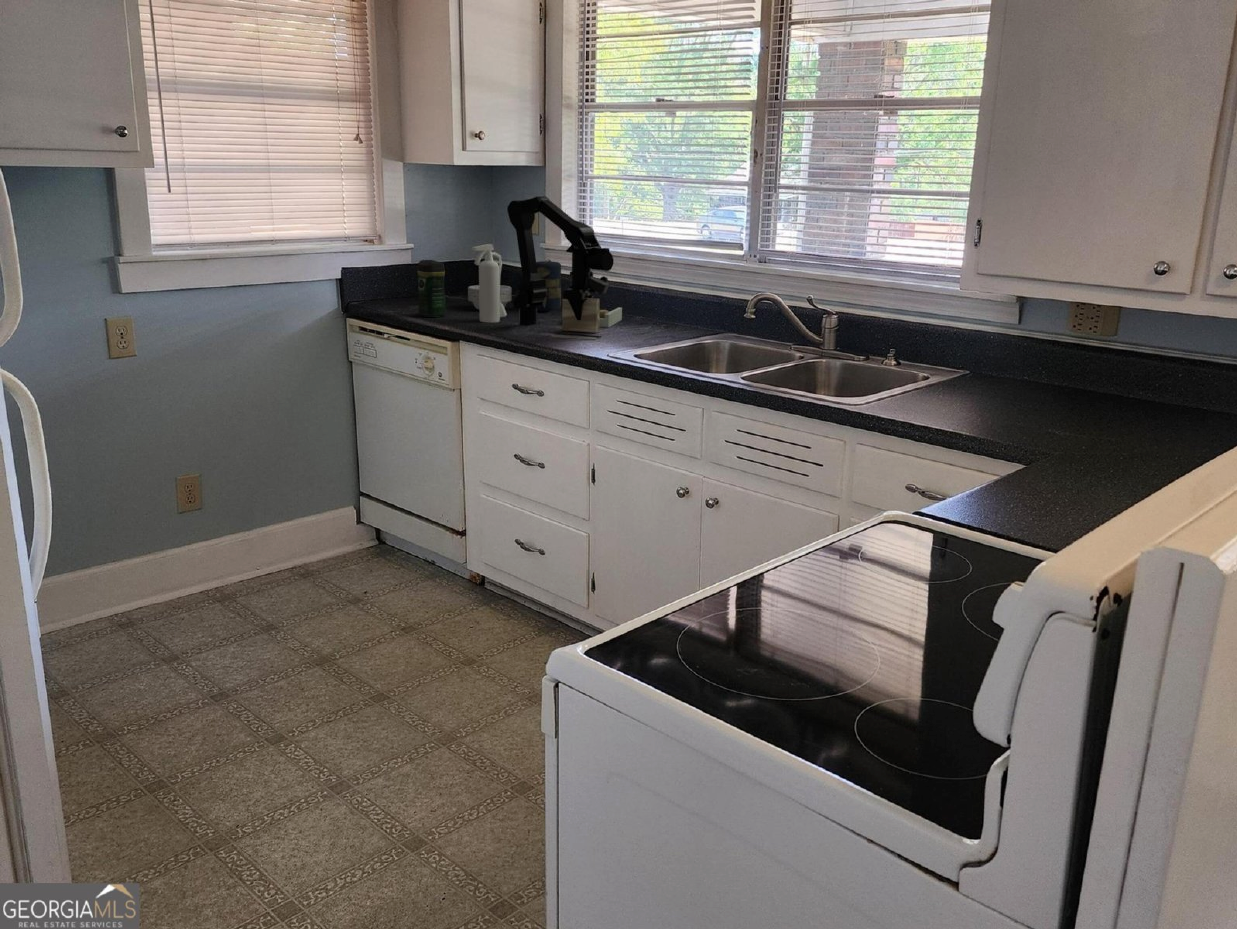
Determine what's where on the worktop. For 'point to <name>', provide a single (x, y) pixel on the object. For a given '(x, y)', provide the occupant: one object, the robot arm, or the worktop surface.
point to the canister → (550, 284)
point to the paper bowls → (504, 297)
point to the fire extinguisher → (489, 285)
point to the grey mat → (576, 336)
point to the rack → (611, 318)
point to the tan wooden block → (588, 317)
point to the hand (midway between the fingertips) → (580, 319)
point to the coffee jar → (431, 288)
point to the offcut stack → (602, 313)
